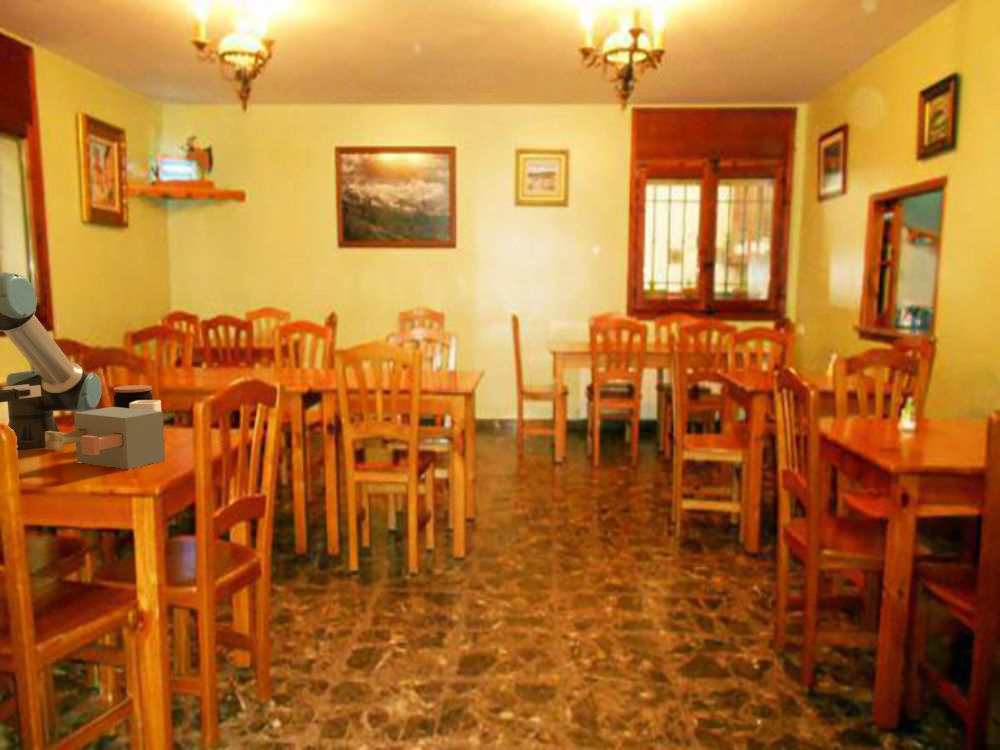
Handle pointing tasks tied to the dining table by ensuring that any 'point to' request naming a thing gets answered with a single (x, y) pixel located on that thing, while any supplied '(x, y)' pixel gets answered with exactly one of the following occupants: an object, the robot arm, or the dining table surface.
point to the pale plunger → (63, 438)
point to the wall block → (138, 436)
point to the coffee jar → (131, 394)
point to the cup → (146, 405)
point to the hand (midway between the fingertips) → (34, 390)
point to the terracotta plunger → (100, 443)
